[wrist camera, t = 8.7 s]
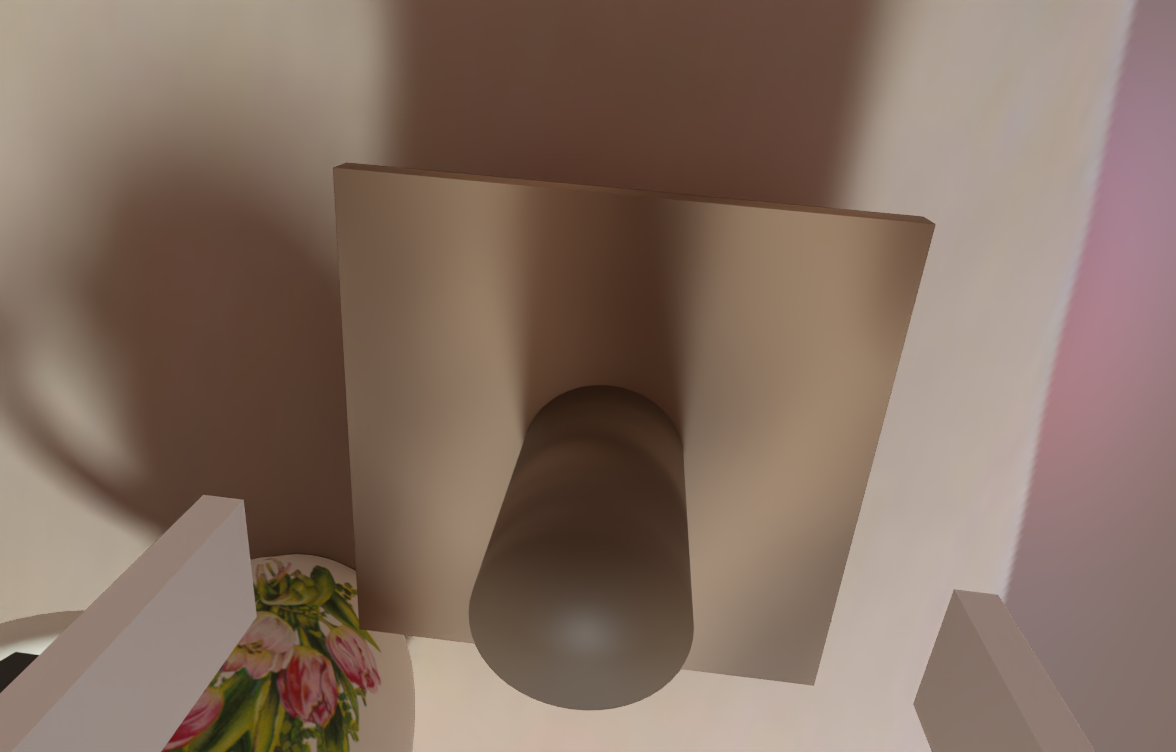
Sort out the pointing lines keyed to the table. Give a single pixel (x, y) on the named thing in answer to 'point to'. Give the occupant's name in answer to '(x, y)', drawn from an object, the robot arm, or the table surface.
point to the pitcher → (287, 669)
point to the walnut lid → (612, 420)
